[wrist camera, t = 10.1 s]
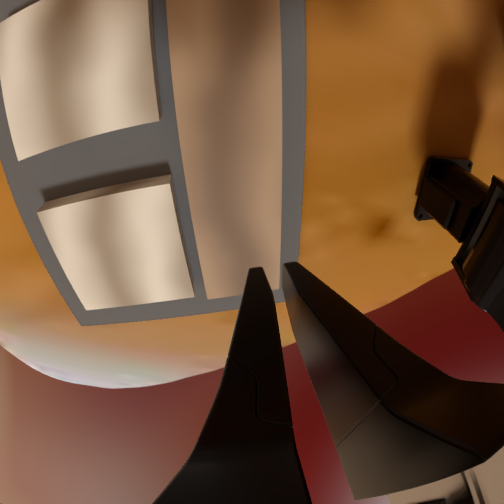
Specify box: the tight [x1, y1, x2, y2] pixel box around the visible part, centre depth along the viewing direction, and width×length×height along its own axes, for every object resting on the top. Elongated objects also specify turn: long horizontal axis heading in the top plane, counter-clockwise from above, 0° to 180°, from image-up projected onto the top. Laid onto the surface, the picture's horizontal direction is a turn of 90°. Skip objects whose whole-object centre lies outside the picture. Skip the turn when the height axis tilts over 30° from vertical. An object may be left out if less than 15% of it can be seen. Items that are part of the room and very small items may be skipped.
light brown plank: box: [166, 0, 282, 299], centre depth 17 cm, size 6×25×2 cm, turn 2°
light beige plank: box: [0, 0, 162, 161], centre depth 11 cm, size 10×10×2 cm
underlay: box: [0, 0, 306, 326], centre depth 17 cm, size 22×32×1 cm
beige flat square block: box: [37, 174, 195, 310], centre depth 20 cm, size 10×10×2 cm
